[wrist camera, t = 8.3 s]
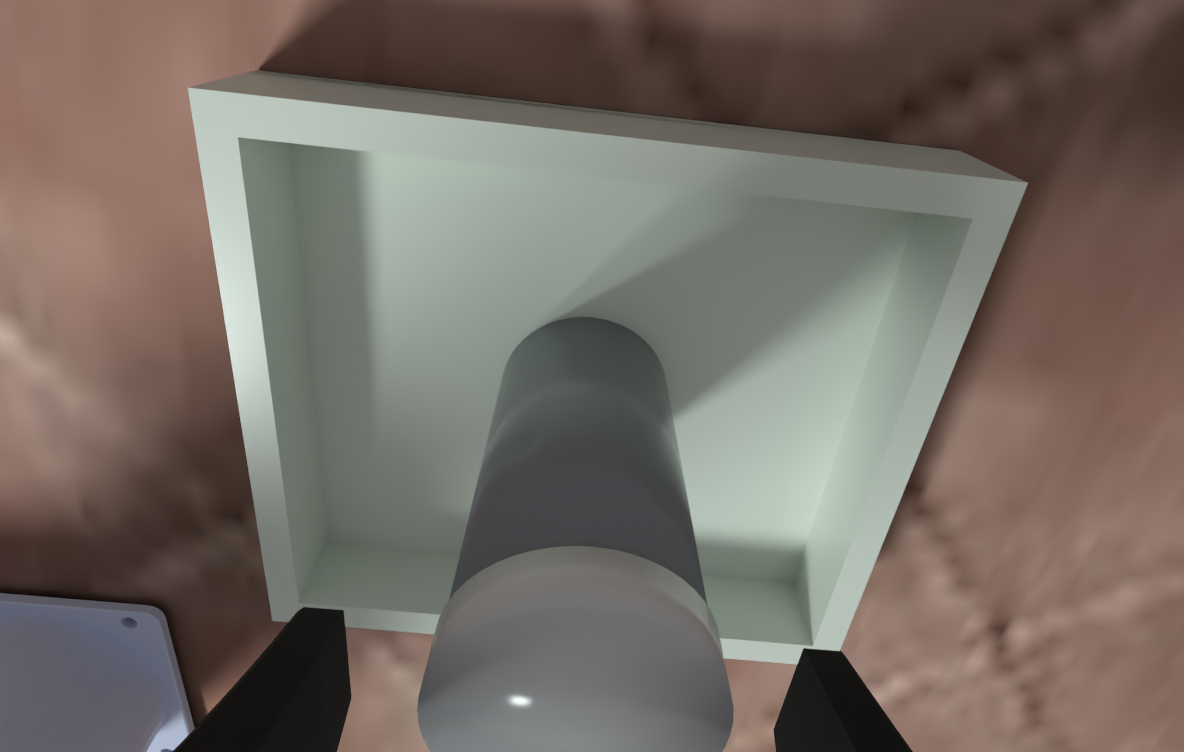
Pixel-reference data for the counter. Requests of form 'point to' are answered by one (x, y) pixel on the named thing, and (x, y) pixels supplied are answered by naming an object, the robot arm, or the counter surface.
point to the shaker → (578, 568)
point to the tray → (581, 289)
